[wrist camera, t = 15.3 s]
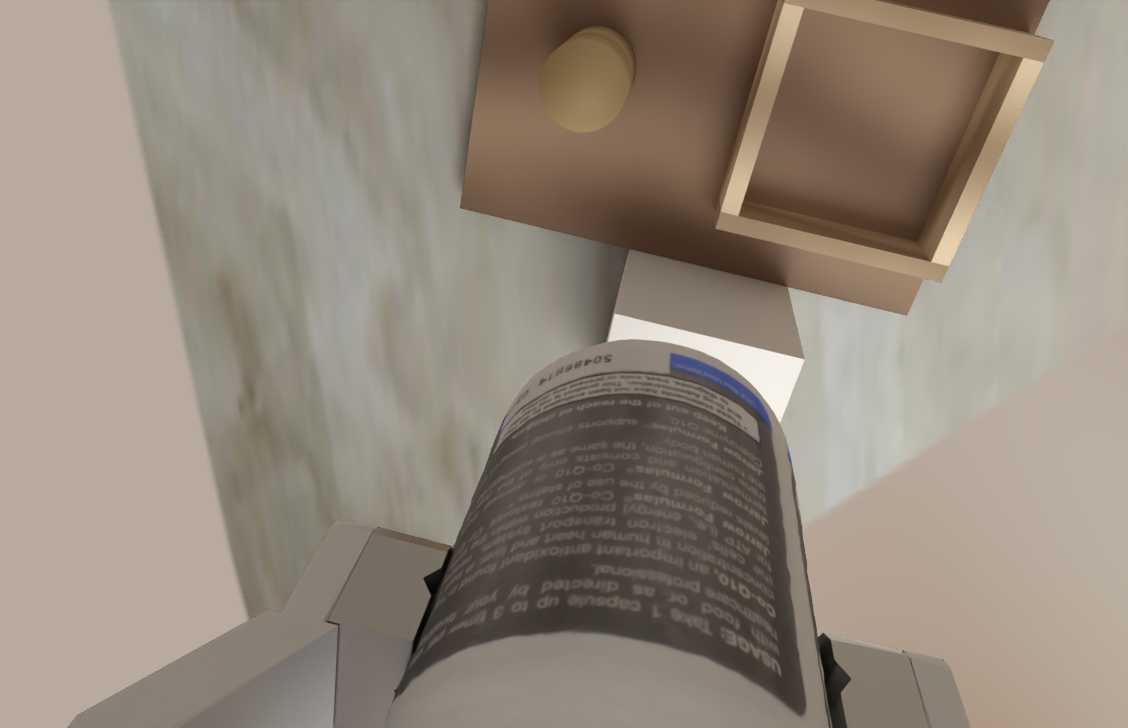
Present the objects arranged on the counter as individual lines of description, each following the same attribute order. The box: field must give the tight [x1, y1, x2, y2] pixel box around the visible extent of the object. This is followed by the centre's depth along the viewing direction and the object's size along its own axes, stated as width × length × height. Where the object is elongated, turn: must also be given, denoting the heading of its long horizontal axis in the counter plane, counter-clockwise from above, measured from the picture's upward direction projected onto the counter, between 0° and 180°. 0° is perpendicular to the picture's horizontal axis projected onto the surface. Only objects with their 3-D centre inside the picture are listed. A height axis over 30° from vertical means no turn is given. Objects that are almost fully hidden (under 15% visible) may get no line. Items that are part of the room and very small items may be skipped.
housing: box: [606, 249, 805, 423], centre depth 30 cm, size 6×6×7 cm
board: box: [460, 0, 1054, 316], centre depth 26 cm, size 12×17×5 cm
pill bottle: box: [383, 339, 832, 728], centre depth 10 cm, size 5×5×8 cm
